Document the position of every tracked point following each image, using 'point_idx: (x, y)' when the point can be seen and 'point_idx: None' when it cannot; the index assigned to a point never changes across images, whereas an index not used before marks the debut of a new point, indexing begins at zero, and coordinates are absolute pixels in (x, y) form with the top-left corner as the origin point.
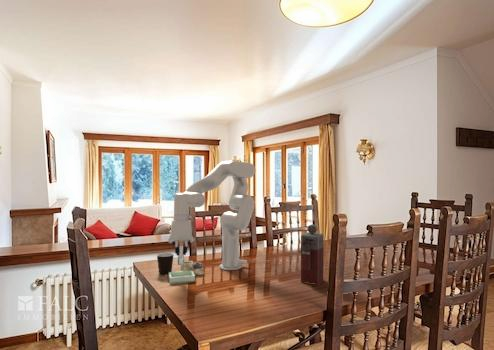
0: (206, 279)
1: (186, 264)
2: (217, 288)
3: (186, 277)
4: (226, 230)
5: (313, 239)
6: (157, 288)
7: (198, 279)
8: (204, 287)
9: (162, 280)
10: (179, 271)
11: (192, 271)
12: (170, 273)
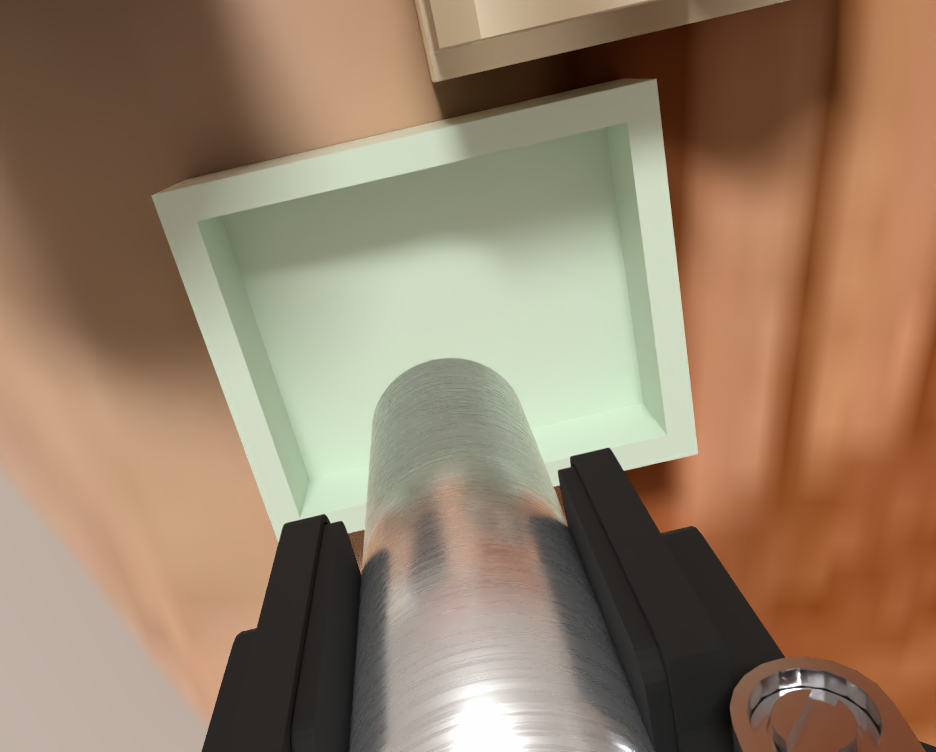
0: (850, 297)
1: (548, 21)
2: (924, 648)
3: (550, 477)
4: None
5: None
6: (163, 642)
7: (724, 290)
8: (776, 616)
9: (116, 311)
10: (384, 161)
11: (660, 179)
12: (221, 296)
